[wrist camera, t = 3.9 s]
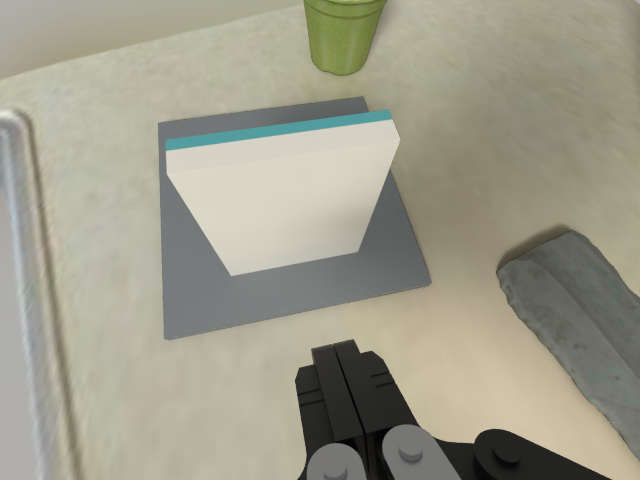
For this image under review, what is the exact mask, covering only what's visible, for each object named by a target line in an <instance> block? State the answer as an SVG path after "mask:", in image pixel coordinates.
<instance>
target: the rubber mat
mask: <svg viewBox="0 0 640 480" xmlns="http://www.w3.org/2000/svg"><path fill="white" fill-rule="evenodd" d="M368 112H369V111H368V109H367V106H366V103H365V101H364V98H363V97H355V98H347V99H340V100H332V101H324V102H316V103H309V104H301V105H293V106H285V107H278V108H270V109H262V110H254V111H247V112H239V113H231V114H223V115H216V116H208V117H200V118H192V119H184V120H177V121H169V122H161V123H158V139H159V174H160V209H161V244H162V280H163V315H164V339H166V340H172V339H177V338H182V337H187V336H191V335H196V334H201V333H206V332H211V331H215V330H220V329H225V328H230V327H234V326H239V325H244V324H249V323H253V322H258V321H263V320H268V319H272V318H277V317H282V316H287V315H292V314H296V313H301V312H306V311H311V310H315V309H320V308H325V307H330V306H334V305H339V304H344V303H349V302H353V301H358V300H363V299H368V298H373V297H377V296H382V295H387V294H392V293H396V292H401V291H406V290H411V289H415V288H420V287H425V286H429V285H430V284H431V283H432V282H431V279H430V276H429V274H428V271H427V268H426V265H425V263H424V260H423V257H422V255H421V252H420V249H419V247H418V244H417V241H416V238H415V236H414V233H413V230H412V228H411V225H410V222H409V219H408V217H407V214H406V211H405V209H404V206H403V203H402V201H401V198H400V195H399V192H398V190H397V187H396V184H395V182H394V179H393V176H392V174H391V171H390V169H389V171H388V174H387V176H386V179H385V182H384V184H383V187H382V190H381V192H380V195H379V198H378V200H377V203H376V205H375V208H374V211H373V213H372V216H371V219H370V221H369V224H368V226H367V229H366V232H365V234H364V237H363V240H362V242H361V245H360V247H359V250H358V252H355V253H350V254H345V255H339V256H334V257H329V258H324V259H318V260H313V261H308V262H303V263H297V264H292V265H287V266H282V267H276V268H271V269H266V270H261V271H255V272H250V273H245V274H240V275H234V276H231V275H230V273H229V272H228V270H227V269H226V267H225V265H224V264H223V262H222V261H221V259H220V258H219V256H218V254H217V253H216V251H215V250H214V248H213V246H212V245H211V243H210V242H209V240H208V239H207V237H206V235H205V234H204V232H203V231H202V229H201V228H200V226H199V224H198V223H197V221H196V220H195V218H194V216H193V215H192V213H191V212H190V210H189V209H188V207H187V205H186V204H185V202H184V201H183V199H182V197H181V196H180V194H179V193H178V191H177V190H176V188H175V186H174V185H173V183H172V182H171V180H170V178H169V177H168V175H167V165H166V140H169V139H176V138H183V137H191V136H198V135H206V134H213V133H220V132H228V131H235V130H242V129H250V128H257V127H265V126H272V125H279V124H287V123H294V122H301V121H309V120H316V119H324V118H331V117H338V116H346V115H353V114H360V113H368Z"/></svg>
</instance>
